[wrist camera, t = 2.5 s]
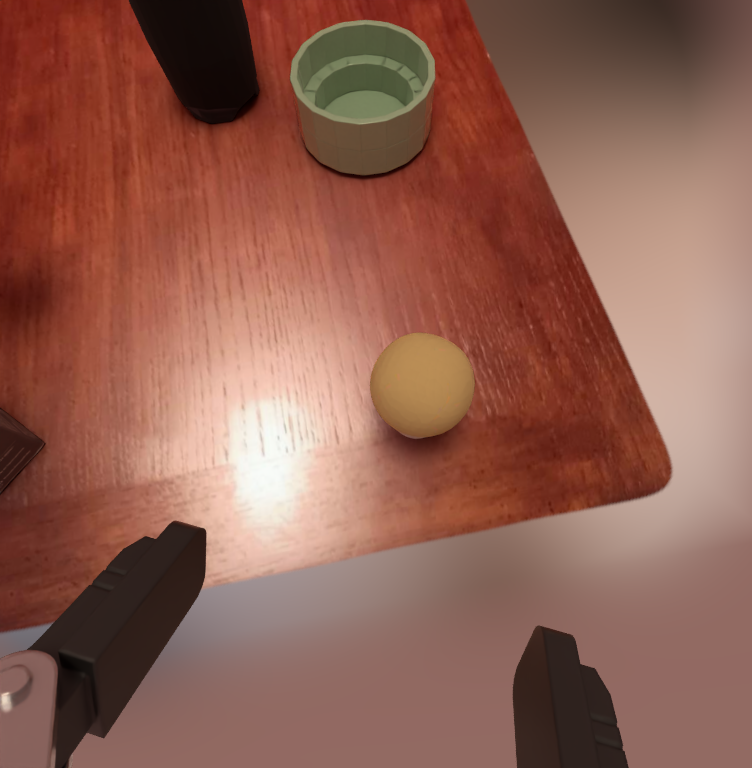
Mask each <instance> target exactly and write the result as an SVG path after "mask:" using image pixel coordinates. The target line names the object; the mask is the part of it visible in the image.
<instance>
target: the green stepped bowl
mask: <svg viewBox="0 0 752 768" xmlns="http://www.w3.org/2000/svg"><path fill="white" fill-rule="evenodd" d="M290 82H291V87H292V92H293V97H294V102H295V107H296V112H297V117H298V122H299V128H300V133H301V135H302V138H303V141H304V143H305V146H306V148H307V150H308V151H309V152H310V153H311V154H312V155H313V156H314V157H315V158H316V159H317V160H318V161H319V162H321V163H322V164H324V165H326V166H328V167H331V168H333V169H335V170H337V171H339V172H343V173H350V174H357V175H370V174H378V173H385V172H388V171H390V170H393V169H395V168H397V167H399V166H401V165H404V164H406V163H408V162H409V161H410V160H411V159H412V158H413V157H414V156H415V155H416V154H417V153H418V152H420V151H421V150H422V148H423V146H424V144H425V142H426V139H427V137H428V135H429V133H430V124H431V115H432V105H433V95H434V85H435V61H434V58H433V56H432V55H431V53H430V51H429V49H428V47H427V45H426V44H425V43H424V42H423V41H422V40H420V39H419V38H418V37H417V36H415V35H414V34H413V33H412V32H411V31H409V30H406V29H404V28H401V27H399V26H396V25H394V24H391V23H388V22H380V21H372V20H359V21H351V22H343V23H339V24H336V25H334V26H331V27H328V28H326V29H323V30H321V31H319V32H317V33H316V34H315V35H313V36H312V37H311V38H310V39H308V40H307V41H306V42H304V43H303V44H302V45H301V47H300V49H299V50H298V52H297V53H296V55H295V57H294V58H293V60H292V65H291V73H290Z"/></svg>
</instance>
